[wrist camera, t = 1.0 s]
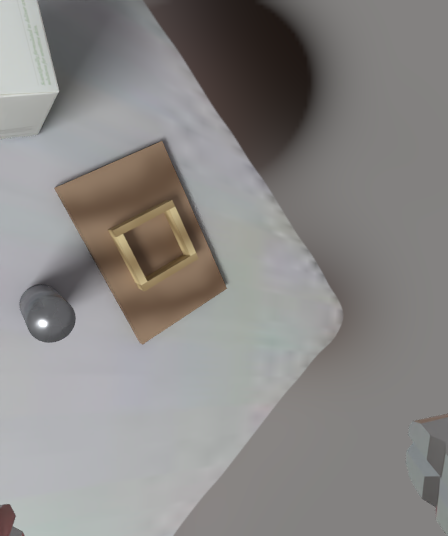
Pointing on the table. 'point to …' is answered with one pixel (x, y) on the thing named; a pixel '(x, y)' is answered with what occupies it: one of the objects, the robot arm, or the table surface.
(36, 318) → the cylinder
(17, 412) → the table surface
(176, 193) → the collar board
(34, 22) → the skincare box
